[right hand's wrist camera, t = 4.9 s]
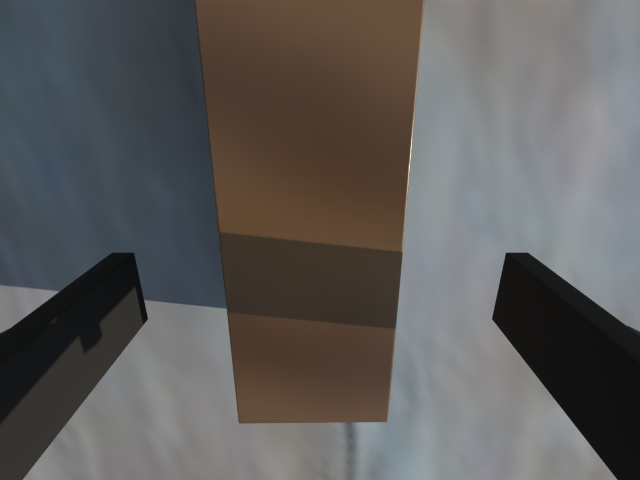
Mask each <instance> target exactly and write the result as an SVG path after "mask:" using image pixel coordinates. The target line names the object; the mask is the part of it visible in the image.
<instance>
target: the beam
mask: <svg viewBox="0 0 640 480" xmlns="http://www.w3.org/2000/svg"><path fill="white" fill-rule="evenodd" d="M194 2H195V11H196V21H197V30H198V40H199V49H200V59H201V68H202V78H203V87H204V97H205V106H206V116H207V125H208V134H209V144H210V153H211V163H212V172H213V182H214V191H215V201H216V210H217V220H218V229H219V239H220V248H221V258H222V267H223V277H224V286H225V296H226V305H227V315H228V324H229V334H230V343H231V353H232V362H233V372H234V381H235V391H236V400H237V410H238V419H239V423H323V422H387V421H388V412H389V401H390V389H391V378H392V367H393V355H394V344H395V332H396V321H397V310H398V298H399V287H400V275H401V264H402V253H403V241H404V230H405V218H406V207H407V196H408V184H409V173H410V161H411V150H412V139H413V127H414V116H415V105H416V93H417V82H418V70H419V59H420V48H421V36H422V25H423V13H424V2H425V0H194Z"/></svg>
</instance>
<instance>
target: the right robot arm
mask: <svg viewBox="0 0 640 480" xmlns="http://www.w3.org/2000/svg"><path fill="white" fill-rule="evenodd" d="M147 319H148V317H147V312H146V308H145V303H144V298H143V293H142V289H141V284H140V279H139V274H138V270H137V265H136V260H135V256H134V253H111V254H110V255H108V256H107V257H106V258H104V259H103V260H102V261H100V262H99V263H98V264H96V265H95V266H94V267H92V268H91V269H90V270H88V271H87V272H86V273H84V274H83V275H82V276H80V277H79V278H78V279H76V280H75V281H73V282H72V283H71V284H69V285H68V286H67V287H65V288H64V289H63V290H61V291H60V292H59V293H57V294H56V295H55V296H53V297H52V298H51V299H49V300H48V301H47V302H45V303H44V304H42V305H41V306H40V307H38V308H37V309H36V310H34V311H33V312H32V313H30V314H29V315H28V316H26V317H25V318H24V319H22V320H21V321H20V322H18V323H17V324H16V325H14V326H13V327H12V328H10V329H8V330H6V331H4V332H2V333H0V480H23V478H24V477H25V476H26V475H27V473H28V472H29V471H30V469H31V468H32V467H33V466H34V464H35V463H36V462H37V460H38V459H39V458H40V457H41V455H42V454H43V453H44V451H45V450H46V449H47V448H48V446H49V445H50V444H51V442H52V441H53V440H54V439H55V437H56V436H57V435H58V434H59V432H60V431H61V430H62V428H63V427H64V426H65V425H66V423H67V422H68V421H69V419H70V418H71V417H72V416H73V414H74V413H75V412H76V410H77V409H78V408H79V407H80V405H81V404H82V403H83V401H84V400H85V399H86V398H87V396H88V395H89V394H90V393H91V391H92V390H93V389H94V387H95V386H96V385H97V384H98V382H99V381H100V380H101V378H102V377H103V376H104V375H105V373H106V372H107V371H108V369H109V368H110V367H111V366H112V364H113V363H114V362H115V360H116V359H117V358H118V357H119V355H120V354H121V353H122V352H123V350H124V349H125V348H126V346H127V345H128V344H129V343H130V341H131V340H132V339H133V337H134V336H135V335H136V334H137V332H138V331H139V330H140V328H141V327H142V326H143V325H144V323H145V322H146V321H147ZM492 319H493V321H494V322H495V323H496V325H497V326H498V327H499V328H500V330H501V331H502V332H503V334H504V335H505V336H506V337H507V339H508V340H509V341H510V343H511V344H512V345H513V346H514V348H515V349H516V350H517V352H518V353H519V354H520V355H521V357H522V358H523V359H524V360H525V362H526V363H527V364H528V366H529V367H530V368H531V369H532V371H533V372H534V373H535V375H536V376H537V377H538V378H539V380H540V381H541V382H542V384H543V385H544V386H545V387H546V389H547V390H548V391H549V393H550V394H551V395H552V396H553V398H554V399H555V400H556V401H557V403H558V404H559V405H560V407H561V408H562V409H563V410H564V412H565V413H566V414H567V416H568V417H569V418H570V419H571V421H572V422H573V423H574V425H575V426H576V427H577V428H578V430H579V431H580V432H581V434H582V435H583V436H584V437H585V439H586V440H587V441H588V442H589V444H590V445H591V446H592V448H593V449H594V450H595V451H596V453H597V454H598V455H599V457H600V458H601V459H602V460H603V462H604V463H605V464H606V466H607V467H608V468H609V469H610V471H611V472H612V473H613V475H614V476H615V477H616V478H617V480H640V332H639V331H637V330H635V329H633V328H631V327H629V326H626V325H624V324H623V323H622V322H620V321H619V320H618V319H616V318H615V317H614V316H612V315H611V314H610V313H608V312H607V311H606V310H604V309H603V308H602V307H600V306H599V305H598V304H596V303H595V302H593V301H592V300H591V299H589V298H588V297H587V296H585V295H584V294H583V293H581V292H580V291H579V290H577V289H576V288H575V287H573V286H572V285H571V284H569V283H568V282H567V281H565V280H564V279H562V278H561V277H560V276H558V275H557V274H556V273H554V272H553V271H552V270H550V269H549V268H548V267H546V266H545V265H544V264H542V263H541V262H540V261H538V260H537V259H536V258H534V257H533V256H532V255H530V254H529V253H506V256H505V260H504V265H503V270H502V274H501V279H500V284H499V289H498V293H497V298H496V303H495V308H494V312H493V317H492Z"/></svg>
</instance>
